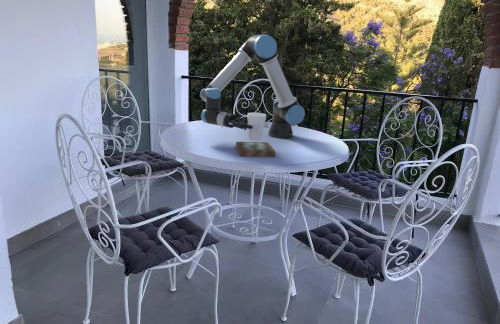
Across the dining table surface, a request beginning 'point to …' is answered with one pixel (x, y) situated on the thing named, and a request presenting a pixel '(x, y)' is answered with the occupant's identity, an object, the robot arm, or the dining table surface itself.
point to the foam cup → (256, 120)
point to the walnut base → (255, 149)
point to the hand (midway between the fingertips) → (263, 126)
